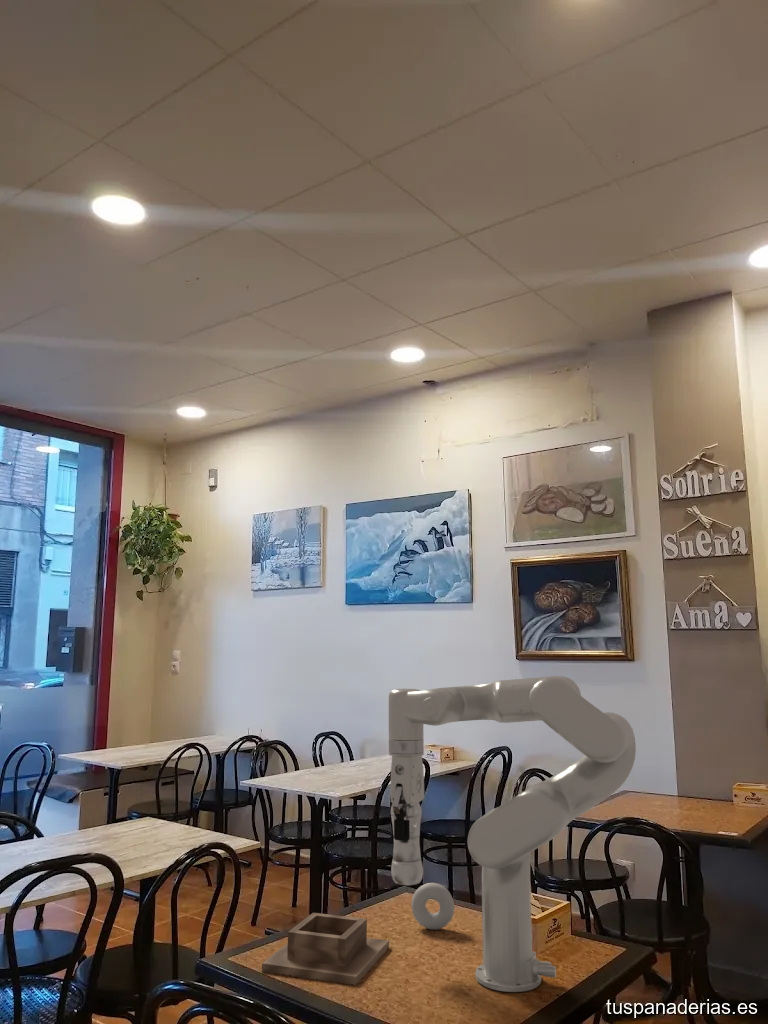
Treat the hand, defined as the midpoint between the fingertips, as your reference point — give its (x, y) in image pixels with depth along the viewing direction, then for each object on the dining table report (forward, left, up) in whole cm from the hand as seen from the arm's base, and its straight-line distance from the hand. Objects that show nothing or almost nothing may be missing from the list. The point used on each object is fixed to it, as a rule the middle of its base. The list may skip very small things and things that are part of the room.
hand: (406, 835), depth 162 cm
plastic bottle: (0, 0, -10) cm, 10 cm away
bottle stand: (+16, +4, -24) cm, 29 cm away
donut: (0, -20, -25) cm, 32 cm away
